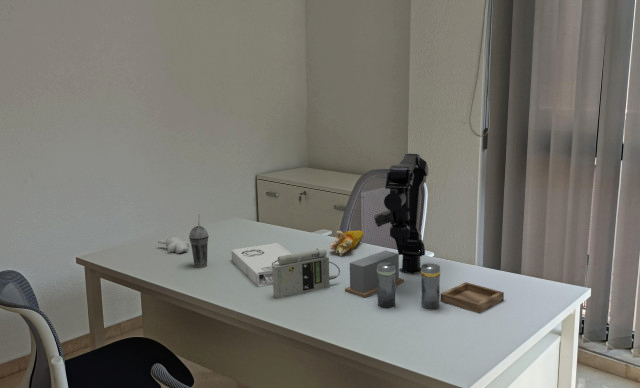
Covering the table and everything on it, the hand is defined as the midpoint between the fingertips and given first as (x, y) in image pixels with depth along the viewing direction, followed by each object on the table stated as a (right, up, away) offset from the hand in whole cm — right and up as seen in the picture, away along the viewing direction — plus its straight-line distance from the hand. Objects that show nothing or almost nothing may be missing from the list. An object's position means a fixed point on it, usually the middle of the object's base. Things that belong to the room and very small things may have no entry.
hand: (400, 249), depth 216 cm
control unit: (-8, -13, +4) cm, 16 cm away
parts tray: (+21, -15, -11) cm, 28 cm away
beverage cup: (-72, -9, +31) cm, 79 cm away
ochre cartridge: (+8, -16, -15) cm, 23 cm away
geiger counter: (-31, -14, +3) cm, 34 cm away
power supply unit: (-46, -10, +25) cm, 53 cm away
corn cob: (-14, -4, +47) cm, 49 cm away
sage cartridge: (-6, -16, -12) cm, 21 cm away
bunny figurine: (-87, -5, +53) cm, 101 cm away
